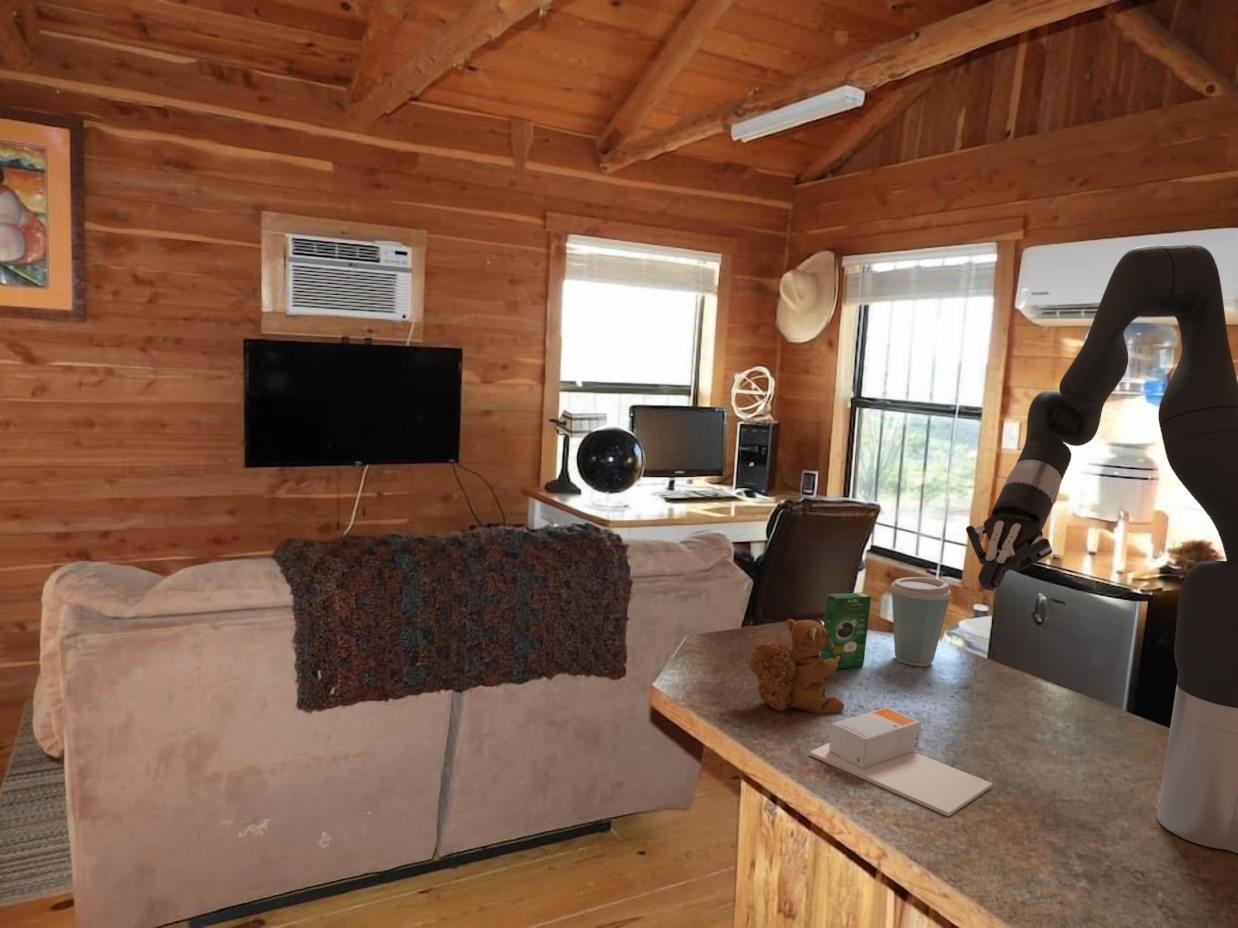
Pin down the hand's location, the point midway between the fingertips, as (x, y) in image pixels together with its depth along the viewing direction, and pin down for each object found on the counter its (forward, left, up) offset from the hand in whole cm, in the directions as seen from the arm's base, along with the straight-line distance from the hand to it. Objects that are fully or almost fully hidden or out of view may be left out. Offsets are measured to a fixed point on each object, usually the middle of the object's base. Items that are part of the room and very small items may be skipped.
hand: (986, 587), depth 131 cm
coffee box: (+27, -7, -22) cm, 35 cm away
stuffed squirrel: (+22, +14, -22) cm, 34 cm away
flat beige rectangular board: (0, +21, -22) cm, 31 cm away
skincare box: (+4, +14, -19) cm, 24 cm away
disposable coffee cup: (+21, -21, -22) cm, 37 cm away
